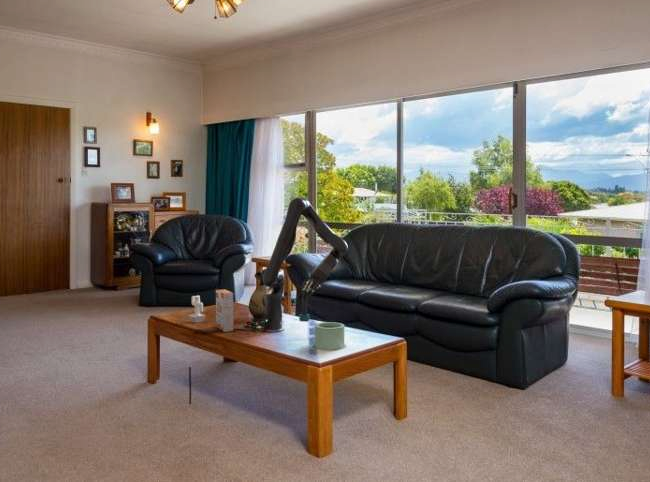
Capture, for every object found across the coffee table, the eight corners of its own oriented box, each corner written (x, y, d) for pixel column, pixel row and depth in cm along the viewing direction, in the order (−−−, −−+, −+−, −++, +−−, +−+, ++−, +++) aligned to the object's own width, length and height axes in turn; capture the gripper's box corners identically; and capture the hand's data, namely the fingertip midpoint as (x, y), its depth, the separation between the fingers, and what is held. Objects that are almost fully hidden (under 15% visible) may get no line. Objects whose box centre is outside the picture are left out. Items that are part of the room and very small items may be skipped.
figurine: (196, 323, 319) (196, 297, 319) (187, 321, 325) (187, 295, 325) (207, 321, 324) (207, 295, 324) (197, 319, 331) (197, 294, 331)
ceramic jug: (262, 322, 322) (263, 270, 322) (243, 319, 330) (243, 269, 331) (281, 318, 335) (281, 268, 336) (262, 315, 344) (262, 266, 344)
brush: (299, 321, 275) (299, 291, 275) (299, 319, 280) (299, 289, 280) (309, 321, 275) (309, 291, 275) (309, 319, 280) (309, 289, 280)
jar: (314, 349, 262) (314, 328, 262) (315, 342, 276) (315, 322, 276) (344, 349, 262) (344, 328, 262) (344, 342, 276) (344, 322, 276)
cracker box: (215, 327, 309) (215, 289, 309) (225, 326, 312) (226, 289, 312) (222, 332, 297) (222, 293, 297) (233, 331, 299) (233, 292, 300)
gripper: (309, 266, 287) (289, 292, 280) (325, 269, 276) (304, 296, 269) (318, 276, 290) (298, 301, 283) (333, 279, 279) (313, 306, 272)
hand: (301, 298), depth 276 cm, fingers closed on brush, 2 cm apart
